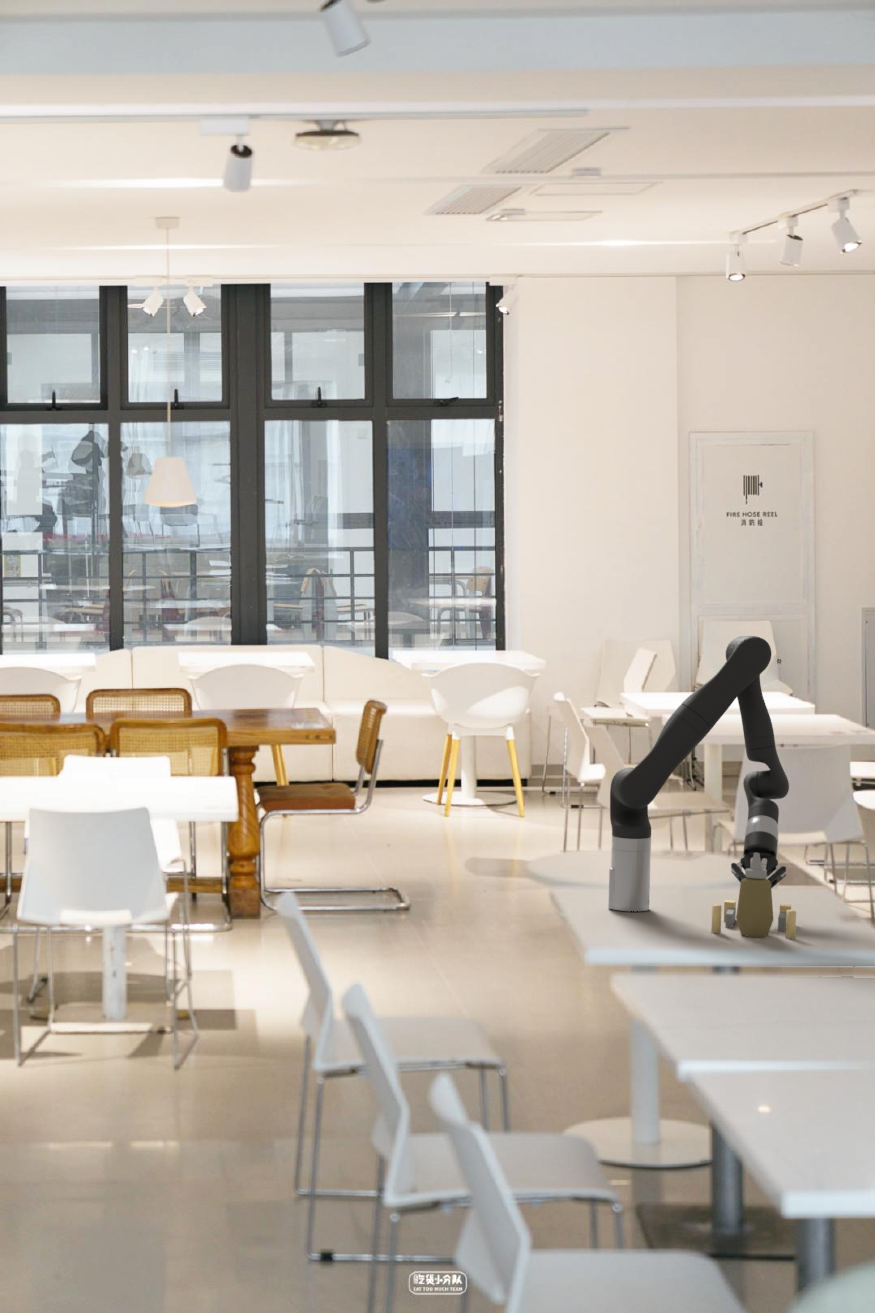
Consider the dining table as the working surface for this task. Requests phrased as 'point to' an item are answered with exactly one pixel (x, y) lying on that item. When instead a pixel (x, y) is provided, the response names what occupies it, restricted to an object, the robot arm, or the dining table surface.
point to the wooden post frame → (784, 920)
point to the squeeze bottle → (755, 901)
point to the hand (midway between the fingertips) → (755, 901)
